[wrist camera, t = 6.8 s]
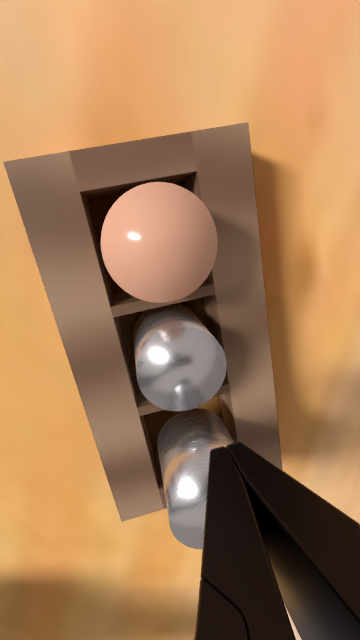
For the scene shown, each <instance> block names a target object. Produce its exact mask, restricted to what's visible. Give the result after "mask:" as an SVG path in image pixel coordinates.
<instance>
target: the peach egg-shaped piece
mask: <svg viewBox="0 0 360 640" xmlns="http://www.w3.org/2000/svg"><path fill="white" fill-rule="evenodd" d="M217 246H218V240H217V232H216V227H215V224H214V221H213V218H212V216H211V214H210V212H209V211H208V209H207V207H206V206H205V205H204V204H203V202H202V201H201V200H200V199H199V198H198V197H197V196H196V195H194V194H193V193H192V192H190V191H189V190H187V189H185V188H183V187H181V186H178V185H175V184H172V183H166V182H151V183H146V184H142V185H139V186H136V187H134V188H132V189H130V190H129V191H127V192H126V193H124V194H123V195H122V196H121V197H119V199H118V200H117V201H116V202H115V203H114V204H113V206H112V207H111V208H110V210H109V212H108V214H107V216H106V218H105V220H104V223H103V227H102V232H101V252H102V257H103V260H104V263H105V266H106V268H107V270H108V272H109V274H110V275H111V277H112V278H113V280H114V281H115V282H116V283H117V284H118V285H119V286H120V287H121V288H122V289H123V290H124V291H126V292H127V293H129V294H130V295H132V296H134V297H136V298H138V299H141V300H144V301H148V302H155V303H166V302H172V301H175V300H179V299H181V298H184V297H186V296H187V295H189V294H191V293H192V292H194V291H195V290H196V289H197V288H198V287H199V286H200V285H201V284H202V283H203V282H204V281H205V280H206V278H207V277H208V275H209V273H210V272H211V270H212V267H213V265H214V262H215V259H216V254H217Z"/></svg>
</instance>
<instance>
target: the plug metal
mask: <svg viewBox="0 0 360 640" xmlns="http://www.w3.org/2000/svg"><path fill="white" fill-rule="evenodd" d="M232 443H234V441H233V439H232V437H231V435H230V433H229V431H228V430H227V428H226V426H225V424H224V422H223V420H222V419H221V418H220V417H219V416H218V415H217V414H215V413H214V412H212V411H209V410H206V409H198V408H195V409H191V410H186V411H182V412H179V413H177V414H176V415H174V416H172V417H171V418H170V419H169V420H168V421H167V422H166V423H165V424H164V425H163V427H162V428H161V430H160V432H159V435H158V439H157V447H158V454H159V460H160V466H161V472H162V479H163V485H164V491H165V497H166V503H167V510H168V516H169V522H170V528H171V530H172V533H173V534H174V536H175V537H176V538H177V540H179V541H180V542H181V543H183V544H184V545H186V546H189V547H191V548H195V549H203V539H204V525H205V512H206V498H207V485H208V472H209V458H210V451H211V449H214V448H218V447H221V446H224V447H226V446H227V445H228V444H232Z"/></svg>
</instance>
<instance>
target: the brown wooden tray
mask: <svg viewBox="0 0 360 640" xmlns="http://www.w3.org/2000/svg"><path fill="white" fill-rule="evenodd" d="M4 165H5V168H6V171H7V174H8V177H9V180H10V184H11V187H12V190H13V193H14V196H15V199H16V202H17V205H18V208H19V211H20V214H21V217H22V220H23V223H24V226H25V229H26V232H27V235H28V238H29V241H30V244H31V247H32V251H33V254H34V257H35V260H36V263H37V266H38V269H39V272H40V275H41V278H42V281H43V284H44V287H45V290H46V293H47V296H48V299H49V302H50V305H51V308H52V311H53V314H54V317H55V321H56V324H57V327H58V330H59V333H60V336H61V339H62V342H63V345H64V348H65V351H66V354H67V357H68V360H69V363H70V366H71V369H72V372H73V375H74V378H75V381H76V384H77V387H78V391H79V394H80V397H81V400H82V403H83V406H84V409H85V412H86V415H87V418H88V421H89V424H90V427H91V430H92V433H93V436H94V439H95V442H96V445H97V448H98V451H99V454H100V458H101V461H102V464H103V467H104V470H105V473H106V476H107V479H108V482H109V485H110V488H111V491H112V494H113V497H114V500H115V503H116V506H117V509H118V512H119V515H120V518H121V521H126V520H129V519H132V518H136V517H139V516H142V515H145V514H149V513H152V512H155V511H159V510H162V509H165V508H167V503H166V497H165V491H164V485H163V479H162V472H161V466H160V460H159V454H158V452H156V453H153V449H152V445H151V441H150V438H149V434H148V430H147V426H146V422H145V418H144V415H146V414H150V413H153V412H157V411H161V410H165V409H162V408H159V407H157V406H155V405H154V404H152V403H151V402H150V401H149V400H148V399H147V398H146V397H145V396H144V395H143V393H142V392H141V390H140V388H139V385H138V382H137V381H135V380H134V376H133V372H132V368H131V364H130V360H129V357H128V353H127V349H126V345H125V341H124V337H123V333H122V330H121V326H120V322H119V318H118V316H122V315H126V314H130V313H135V312H139V311H144V310H148V309H153V308H157V307H161V306H166V305H170V304H175V303H179V302H184V301H188V300H192V299H197V298H201V297H203V301H204V307H205V313H206V319H207V325H208V331H209V332H210V333H211V334H212V335H213V336H214V338H215V339H216V340H217V341H218V343H219V344H220V345H221V347H222V349H223V351H224V353H225V357H226V364H227V368H226V375H225V378H224V381H223V383H222V385H221V387H220V389H219V390H218V392H217V393H216V394H215V395H214V396H218V395H219V398H220V404H221V410H222V416H223V422H224V424H225V426H226V428H227V430H228V431H229V433H230V435H231V437H232V439H233V441H234V443H235V442H242V443H243V444H245V445H246V446H248V447H249V448H250V449H252V450H253V451H255V452H256V453H258V454H259V455H261V456H262V457H264V458H265V459H266V460H268V461H269V462H271V463H272V464H274V465H275V466H277V467H278V468H279V469H281V470H282V461H281V451H280V440H279V430H278V420H277V410H276V400H275V390H274V379H273V369H272V359H271V349H270V339H269V329H268V318H267V308H266V298H265V288H264V278H263V268H262V258H261V247H260V237H259V227H258V217H257V207H256V197H255V186H254V176H253V166H252V156H251V146H250V136H249V125H248V123H241V124H235V125H229V126H223V127H217V128H210V129H204V130H198V131H192V132H186V133H179V134H173V135H167V136H161V137H155V138H148V139H142V140H136V141H130V142H124V143H117V144H111V145H105V146H99V147H93V148H86V149H80V150H74V151H68V152H62V153H55V154H49V155H43V156H37V157H31V158H24V159H18V160H12V161H6V162H4ZM182 181H184V185H185V189H187V190H189V191H190V192H192V193H193V194H194V195H196V196H197V197H198V198H199V199H200V200H201V201H202V202H203V204H204V205H205V206H206V207H207V209H208V211H209V212H210V214H211V216H212V218H213V221H214V224H215V227H216V232H217V240H218V246H217V254H216V259H215V262H214V265H213V267H212V270H211V272H210V273H209V275H208V277H207V278H206V280H205V281H204V282H203V283H202V284H201V285H200V286H199V287H198V288H197V289H196V290H195V291H194V292H192V293H191V294H189V295H187V296H186V297H184V298H181V299H179V300H175V301H172V302H166V303H155V302H148V301H144V300H141V299H138V298H136V297H134V296H132V295H130V294H129V293H127V292H126V291H124V292H120V293H115V294H112V291H111V287H110V283H109V280H108V276H107V272H106V268H105V264H104V260H103V257H102V253H101V249H100V245H99V241H98V237H97V233H96V229H95V226H94V222H93V218H92V214H91V210H90V206H89V202H88V199H87V198H93V197H98V196H104V195H109V194H115V193H121V192H126V191H129V190H130V189H132V188H134V187H136V186H139V185H142V184H146V183H151V182H166V183H176V182H182ZM214 396H213V397H214Z"/></svg>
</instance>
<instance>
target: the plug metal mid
mask: <svg viewBox="0 0 360 640" xmlns="http://www.w3.org/2000/svg"><path fill="white" fill-rule="evenodd" d="M133 344H134V355H135V365H136V375H137V382H138V385H139V388H140V390H141V392H142V393H143V395H144V396H145V397H146V398H147V399H148V400H149V401H150V402H151V403H152V404H154V405H155V406H157V407H159V408H162V409H165V410H169V411H186V410H191V409H194V408H197V407H199V406H201V405H203V404H204V403H206V402H207V401H209V400H210V399H211V398H212V397H213V396H214V395H215V394H216V393H217V392H218V390H219V389H220V387H221V385H222V383H223V381H224V378H225V375H226V368H227V364H226V357H225V353H224V351H223V349H222V347H221V345H220V344H219V343H218V341H217V340H216V339H215V338H214V336H213V335H212V334H211V333H210V332H209V331H208V329H207V328H206V327H205V326H204V325H203V323H202V322H201V321H200V320H199V319H198V317H197V316H196V315H195V314H194V313H193V312H192V311H191V310H190V309H189V308H187V307H186V306H184V305H181V304H179V303H175V304H170V305H166V306H161V307H157V308H153V309H148V310H145V311H144V312H143V313H142V314H141V315H140V317H139V318H138V320H137V322H136V324H135V326H134V330H133Z"/></svg>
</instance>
